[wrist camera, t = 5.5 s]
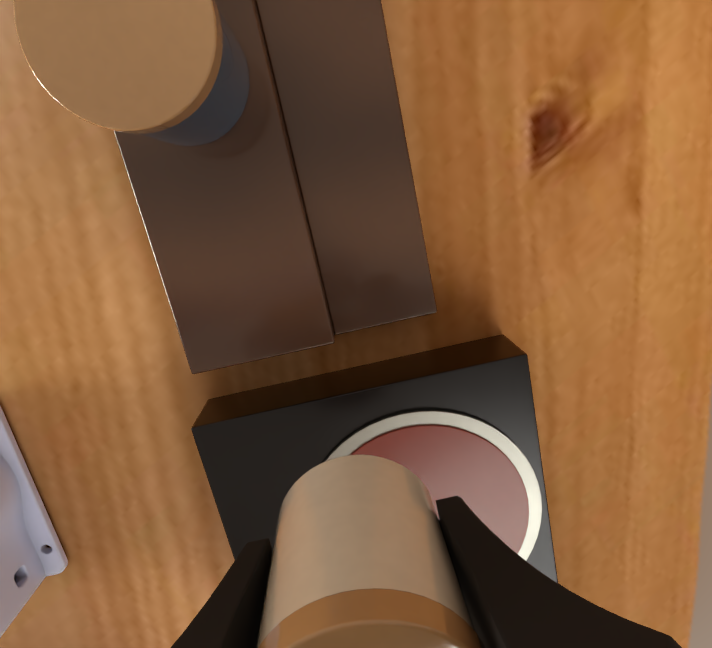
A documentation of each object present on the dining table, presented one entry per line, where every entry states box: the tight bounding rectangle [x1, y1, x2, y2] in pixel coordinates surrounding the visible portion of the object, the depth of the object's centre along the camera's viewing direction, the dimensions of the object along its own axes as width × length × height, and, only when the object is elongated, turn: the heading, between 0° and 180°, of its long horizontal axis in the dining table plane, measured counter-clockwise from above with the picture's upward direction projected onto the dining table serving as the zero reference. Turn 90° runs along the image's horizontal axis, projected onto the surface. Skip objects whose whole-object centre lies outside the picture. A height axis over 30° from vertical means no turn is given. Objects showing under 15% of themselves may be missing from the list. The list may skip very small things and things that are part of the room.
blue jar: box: [14, 0, 250, 146], centre depth 15 cm, size 5×5×6 cm
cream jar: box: [256, 455, 485, 648], centre depth 12 cm, size 5×5×6 cm
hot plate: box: [191, 335, 558, 583], centre depth 24 cm, size 19×15×3 cm
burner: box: [324, 409, 542, 561], centre depth 22 cm, size 10×10×1 cm
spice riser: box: [114, 0, 437, 374], centre depth 20 cm, size 14×10×2 cm
